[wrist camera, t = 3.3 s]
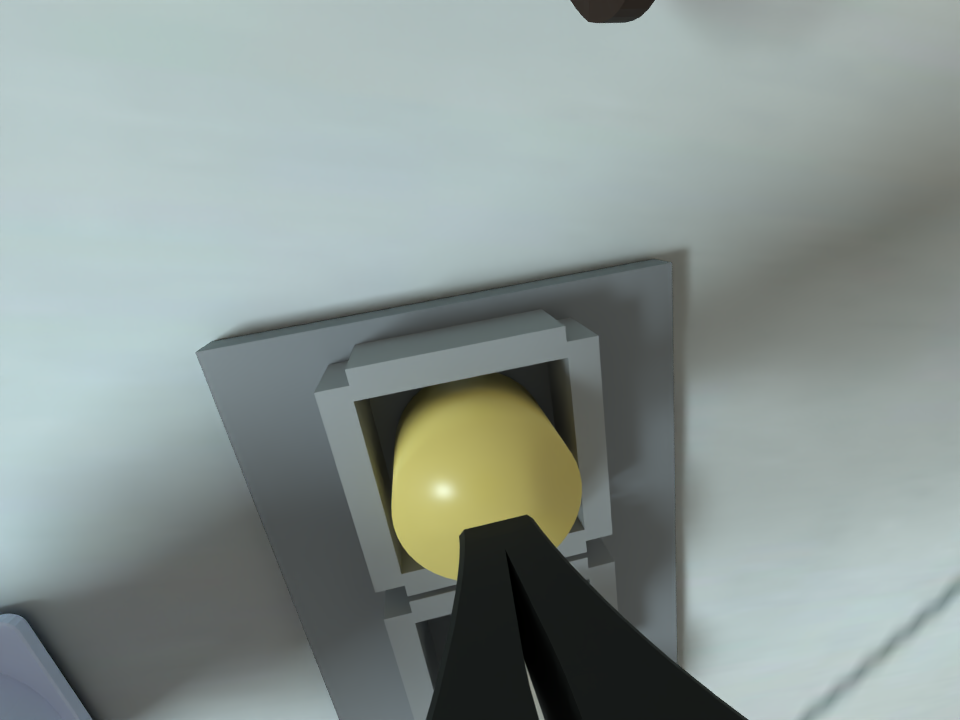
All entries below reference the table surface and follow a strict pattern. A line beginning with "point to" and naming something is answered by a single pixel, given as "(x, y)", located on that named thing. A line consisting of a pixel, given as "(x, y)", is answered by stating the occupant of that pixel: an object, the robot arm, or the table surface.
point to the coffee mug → (612, 10)
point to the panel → (370, 458)
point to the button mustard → (477, 468)
